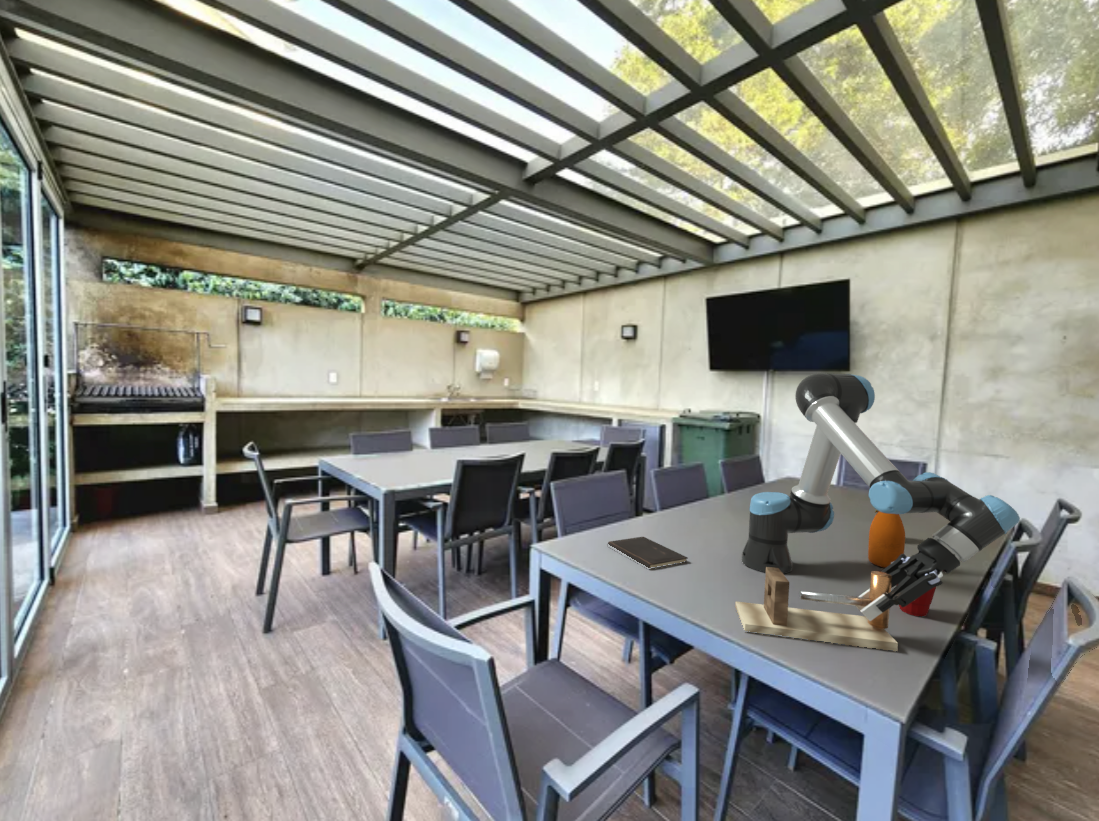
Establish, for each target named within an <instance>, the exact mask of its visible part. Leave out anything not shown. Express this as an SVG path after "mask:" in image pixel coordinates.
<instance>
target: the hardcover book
mask: <svg viewBox="0 0 1099 821" xmlns="http://www.w3.org/2000/svg"><path fill="white" fill-rule="evenodd" d="M608 544H609V545H610V546H612V547H614V548H616V549H617V550H619V551H621V552H622V553H624V554H626V555H627V556H629V557H631V558H632V559H634V560H636V561H637V562H639V563H641V564H643V565H645V566H646V567H648V568H651V567H657V566H663V565H668V564H674V563H680V562H684V561H686V562H687V559H689V557H687V556H685V555H683V554H681V553H678V552H677V551H675V550H673V549H670V548H669V547H666V546H664V545H662V544H660V543H658V542H656V541H654V540H652V539H649V538H647V537H645V536H638V537H631V538H625V539H618V540H611V541H608V542H607V545H608Z"/></svg>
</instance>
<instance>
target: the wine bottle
mask: <svg viewBox="0 0 1099 821" xmlns="http://www.w3.org/2000/svg"><path fill="white" fill-rule="evenodd" d="M874 513H875V515H874V517H873V519H872V521H871V523H870V526H869V532H868V545H867V546H868V549H867V550H868V551H867V552H868V553H867V556H868V557H867V558H868V561H869V562H870V563H871V564H872V565H874V566H876V567H880V568H883V569H885V568H886V567H887V566H889V565H890V564H891V563H892V562H894V561H895V560H896V559H897V558H898V557H899V556H900V555H901V554H905V546H906V545H905V543H906V530H905V526H904V523H903V520H902V518H901V516H900V515H901V514H888V513H882V512H880V511H878V510H876V509H875V511H874Z"/></svg>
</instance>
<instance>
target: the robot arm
mask: <svg viewBox="0 0 1099 821" xmlns="http://www.w3.org/2000/svg"><path fill="white" fill-rule="evenodd" d="M875 394H876V393H875V390H874V387H873V386H872V383H871V382H870V380H868V379H867V378H866V377H864V376H861V375H857V374H852V373H826V372H818V373H817V372H816V373H812V374H810V375H808V376H806V377H805V378H803V379H802V380H801V381H800V383H799V384H798V385H797V387H796V390H795V394H794V396H795V403H796V406H797V407H798V409H799V412H800V413H801V414H802V416H803V417H805V419H806V420H807V421H808V422H810V423H811V422H812V423H814V424H815V425H816V427H815V430H814V433H813V436H812V439H811V441H810V442H811V443H810V446H809V448H808V452H807V456H806V460H805V462H804V465H803V468H802V471H801V475H800V479H799V483H798V484H796V485H794V486H792V488H791V490H790V494H786V493H783V492H778V491H773V492H771V491H763V492H759V493H758V492H757V493H756V494H753V495H752V496H751V499H750V504H749V520H748V522H749V523H748V524H749V525H748V538H747V541H746V543H745V546H744V548H743V550H742V553H741V559H740V560H742V561H741V563H742V562H743V563H742V564H743V565H744V564H745V565H744V566H745V567H748V568H750V569H752V570H754V571H758V570H759V572H762V571H763V573H766V567H774V568H779V569H780V570H781V572H782V573H783V574H787V573H790V572H792V570H793V561H792V557H791V553H790V550H789V546H788V539H789V538H788V537H789V534H798V533H810V534H813V533H818V532H823V531H826V530H827V529H828V528H829V527H831V525H832V524H833V522H834V520H835V511H834V510H833V509H834V505H833V503H832V501H831V500H832V498H831V497H830V496H829V494H828V492H829V490H830V487H831V483H832V481H833V478H834V475H835V472H836V468H837V465H838V463H839V460H840V456H841V455H842V456H843V458H844V459H845V460H846V461H847V463H848V464H849V465H850V466H851V467H852V469H853V470H854V471H855V472H856V473H857V474H858V476H859V477H860V478H861V479H862V480H863V482H864V483H865V484H866V485H867V486H868V488H869V491H868V498H869V501H870V504H871V506H872V507H873V508H874V509H875V511H876V510H878V511H880V512H882V513H888V514H899V515H904V514H919V513H922V514H923V513H929V514H930V513H937V514H939V516H941V517H943V518H944V519H945V520H947V521H948V523H946V524H945V525H944V526H942V527H941V528H940V529H938V530H937V531H935V532H934V533H932V534H931V536H932V537H927V538H926V539H925V540H923V541H922V542H921V543H919V544H918V545H917V548H916V549H917V550H918V552H917V553H915V554H911V556H906V554H905V553H904V554H901V555H900V556H899V557H898V558H897V559H896V560H895V561H894V562H893V563H891V564H890V565H889V566H887V567H886V568H883V569H882V570H881V571H880V572H884V573H887V574H889V575H891V576H892V583H891V592H889V593H887V592H885V593H884V594H885V595H886V596H887V597H886V596H885V595H884V594H883V595H881V596H880V597H878V598H877V599H876V600H874V601H873V602H872V603H870V604H869V605H867V606H866V607H864V606H855V607H856V608H857V609H858V611H859V612H861V614H862V615H863V616H865V617H866V618H867V619H868V620H869V621H871V620H873V619H874V618H876V617H877V616H878V615H880V614H881V613H883V612H885V611H886V610H888V609H889V608H892V607H893V606H899V605H901V607H905V606H907V605H908V604H910V603H911V602H913V601H914V600H916V599H917V598H919V597H920V596H922V595H923V594H925V593H926V592H928V591H929V590H931V589H932V588H934V587H936V588H937V587H938V586H942V585H943V580H941V578H940V579H939V578H938V575H939V574H940V572H942V573H945V574H950V573H951V572H953V571H954V570H956V569H957V568H958V567H959V566H961V562H962V563H964V562H966V561H968V560H969V559H971V558H973V556H974V555H976V554H978V552H981V551H982V550H983V549H984V548H986V547H987V546H989V545H990V544H992V543H993V542H995V541H996V540H997V539H999V538H1001V537H1002V536H1003V535H1006V534H1007V533H1008V532H1009V531H1010V530H1011V529H1013V528H1014V527H1015V526H1016V525H1017V524H1019V523H1020V520H1021V517H1020V516H1019V513H1018V512H1017V510H1016V509H1015V508H1013V506H1011V505H1010V504H1009V503H1007V502H1006V501H1004V500H1003V499H1001V498H999V497H996V496H994V495H991V494H988V495H985V496H983V497H981V498H977V497H976V496H974V495H971V494H970V493H968V492H966V491H965V490H963V489H962V488H960V487H958V486H957V485H955V484H954V483H952V482H950V481H949V480H948V479H946V478H945V477H942V476H940V475H938V474H936V473H934V472H923V473H922V474H918V475H917V476H916V477H914V479H912V480H908V478H906V476H905V475H904V474H903V473H902V472H901V471H900V470H899V469H898V468H897V467H896V466H895V465H894V464H893V463H892V462H891V461H890V460H889V458H888V457H887V456H886V455H885V454H884V453H883V452H882V451H881V450H880V449H879V448H878V447H877V445H876V444H875V443H874V442H873V441H872V440H871V439H870V438H869V437H868V436H867V435H866V434H865V432H863V430H862V429H861V428H860V426H858V425H857V423H858V422H859V418H860V415H861V414H864V413H866V412H867V411H870V409H871V408H872V407H873V405H874V402H875V400H876V399H875V398H876V395H875ZM906 571H907V572H906ZM896 585H897V586H896ZM869 594H870V587H869V588H868V589H867V590H865V591H864V592H863V593H861V594H859V596H858V597H864V598H869ZM903 600H904V601H903Z"/></svg>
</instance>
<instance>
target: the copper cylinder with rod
mask: <svg viewBox="0 0 1099 821" xmlns="http://www.w3.org/2000/svg"><path fill="white" fill-rule="evenodd" d="M891 583H892V576H891V575H889V574H887V573H884V572H881V571H878V570H872V571H871V572H870V582H869V588H870V594H869V598H864V597H859V596H853V595H845V594H844V595H843V594H836V593H835V594H834V593H826V592H818V591H817V592H815V591H807V590H800V591H799V593H798V594H799V598H800V600H804V601H809V602H810V601H812V602H821V603H829V604H836V605H837V604H838V605H839V604H840V605H847V606H855V607H856V606H864V607H866V606H867V605H869V604H870V603H872V602H873V601H874V600H876V599H877V598H878V597H880V596H881V595H883V594H884V593H885V592H887V593H889V592H891V591H892V588H891ZM884 595H885V594H884ZM885 596H886V595H885ZM886 597H887V596H886ZM890 608H891V607H890ZM890 608H889V609H888V610H886V611H885V612H883V613H881V614H880V615H878V616H877V617H876V618H874V619H873V620H871V621H869V620H868V623H869V624H870V625H872V626H874V627H877V628H881V629H885V630H886V629H888V628H889V624H890V622H889V620H890V610H891V609H890Z"/></svg>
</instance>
